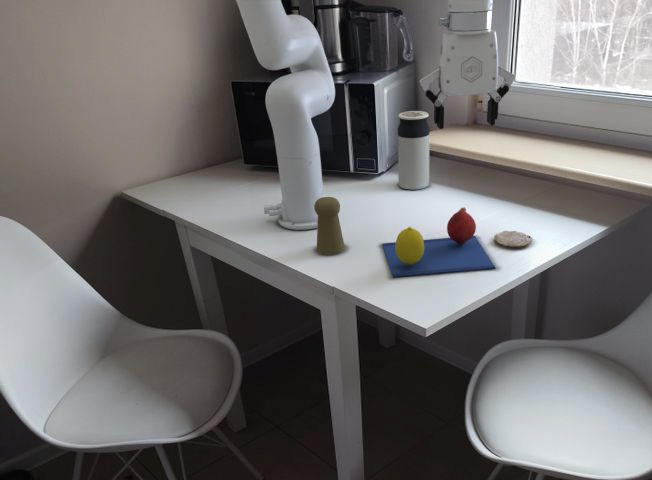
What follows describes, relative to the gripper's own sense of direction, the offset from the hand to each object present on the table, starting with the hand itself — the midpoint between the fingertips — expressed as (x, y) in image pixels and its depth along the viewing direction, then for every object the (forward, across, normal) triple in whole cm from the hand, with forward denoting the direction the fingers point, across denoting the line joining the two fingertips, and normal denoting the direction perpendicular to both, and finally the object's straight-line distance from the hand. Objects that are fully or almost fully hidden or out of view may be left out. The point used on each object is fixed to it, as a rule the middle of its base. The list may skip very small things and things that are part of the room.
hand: (465, 125), depth 116 cm
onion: (+24, 0, 0) cm, 24 cm away
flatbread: (+24, +11, 0) cm, 27 cm away
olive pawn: (+24, -27, +4) cm, 37 cm away
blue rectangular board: (+24, -6, -4) cm, 25 cm away
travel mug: (+24, -3, +41) cm, 48 cm away
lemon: (+24, -12, -8) cm, 28 cm away
